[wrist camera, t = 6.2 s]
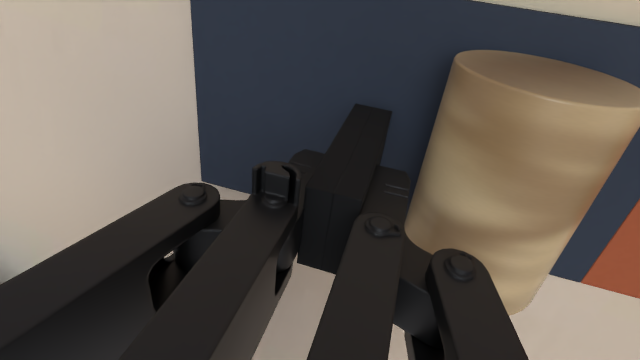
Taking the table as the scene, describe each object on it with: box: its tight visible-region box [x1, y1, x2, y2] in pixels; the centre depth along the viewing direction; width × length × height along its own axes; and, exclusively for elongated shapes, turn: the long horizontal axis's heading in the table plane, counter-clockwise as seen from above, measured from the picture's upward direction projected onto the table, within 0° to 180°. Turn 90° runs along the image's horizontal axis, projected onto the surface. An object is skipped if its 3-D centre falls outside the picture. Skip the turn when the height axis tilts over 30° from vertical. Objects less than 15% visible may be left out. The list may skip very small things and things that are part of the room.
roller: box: [404, 50, 640, 316], centre depth 14 cm, size 6×8×6 cm
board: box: [190, 0, 640, 298], centre depth 14 cm, size 30×11×4 cm, turn 83°
